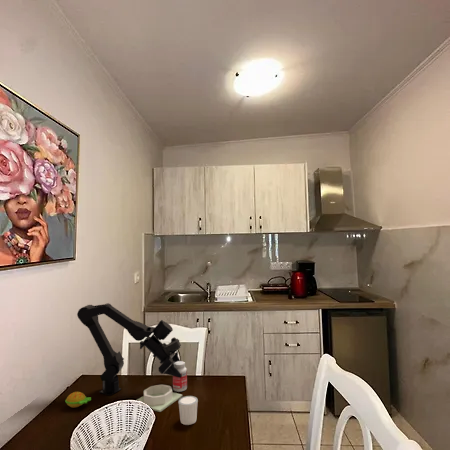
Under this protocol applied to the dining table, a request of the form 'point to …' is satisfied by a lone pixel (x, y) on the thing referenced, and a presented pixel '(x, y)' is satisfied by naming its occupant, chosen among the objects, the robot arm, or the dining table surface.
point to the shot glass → (188, 409)
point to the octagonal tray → (159, 397)
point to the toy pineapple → (76, 399)
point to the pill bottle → (180, 383)
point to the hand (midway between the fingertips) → (182, 372)
